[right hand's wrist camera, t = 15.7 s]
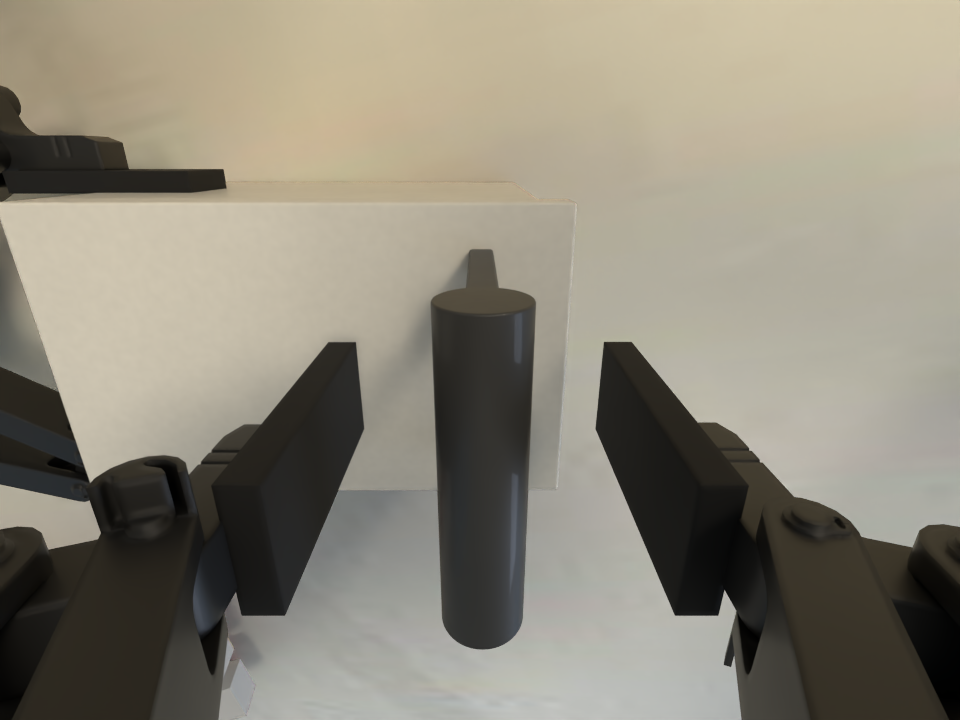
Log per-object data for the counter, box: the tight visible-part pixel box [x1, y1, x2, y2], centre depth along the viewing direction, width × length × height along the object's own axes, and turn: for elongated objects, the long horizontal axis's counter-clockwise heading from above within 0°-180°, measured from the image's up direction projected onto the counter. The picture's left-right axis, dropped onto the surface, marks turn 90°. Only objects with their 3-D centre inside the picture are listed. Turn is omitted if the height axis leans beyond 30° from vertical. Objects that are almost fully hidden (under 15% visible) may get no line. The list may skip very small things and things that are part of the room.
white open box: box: [36, 182, 537, 199], centre depth 22 cm, size 16×10×11 cm, turn 90°
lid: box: [0, 199, 577, 649], centre depth 13 cm, size 16×10×8 cm, turn 90°
